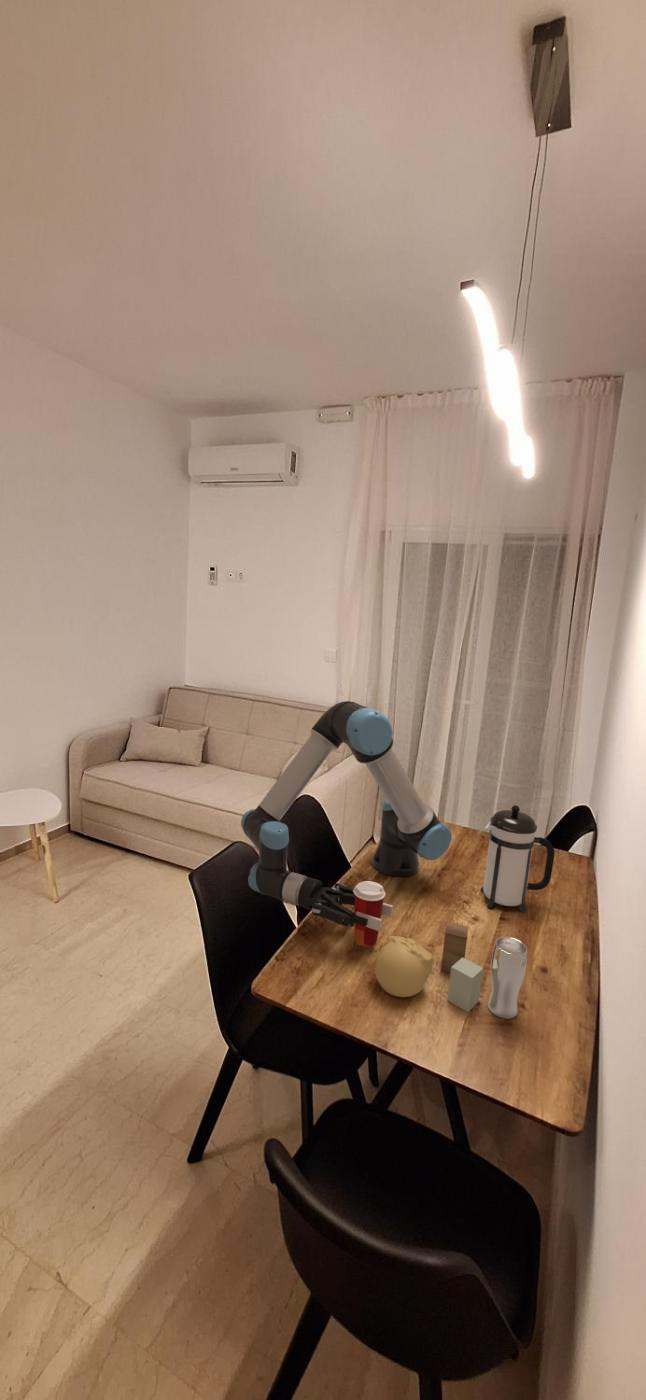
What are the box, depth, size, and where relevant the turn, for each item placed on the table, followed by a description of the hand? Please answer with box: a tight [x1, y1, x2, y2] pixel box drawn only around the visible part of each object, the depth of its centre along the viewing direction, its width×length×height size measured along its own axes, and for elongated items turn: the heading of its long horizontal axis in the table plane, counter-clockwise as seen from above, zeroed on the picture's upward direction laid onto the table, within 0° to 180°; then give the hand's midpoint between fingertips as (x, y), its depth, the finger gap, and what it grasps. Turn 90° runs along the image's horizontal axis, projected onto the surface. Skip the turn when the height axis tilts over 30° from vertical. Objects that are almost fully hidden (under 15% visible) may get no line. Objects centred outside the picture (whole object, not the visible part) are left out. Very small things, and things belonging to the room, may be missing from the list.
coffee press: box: [480, 805, 555, 914], centre depth 165 cm, size 17×16×30 cm
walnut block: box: [440, 921, 469, 975], centre depth 133 cm, size 5×5×10 cm
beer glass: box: [487, 936, 528, 1020], centre depth 120 cm, size 7×7×15 cm
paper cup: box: [353, 880, 386, 948], centre depth 138 cm, size 8×8×14 cm
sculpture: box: [374, 935, 435, 998], centre depth 125 cm, size 11×12×11 cm
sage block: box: [446, 957, 484, 1013], centre depth 123 cm, size 5×5×8 cm
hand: (386, 918), depth 136 cm, fingers closed on paper cup, 7 cm apart
